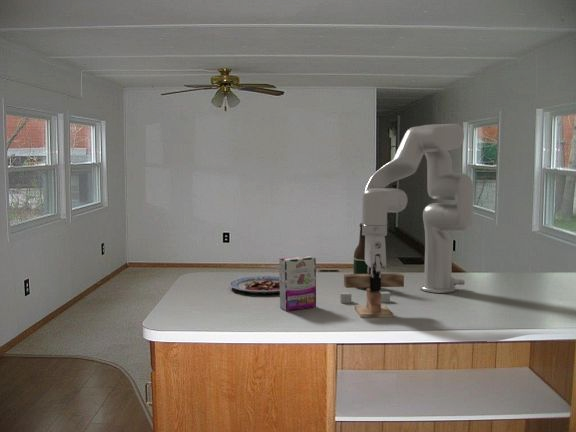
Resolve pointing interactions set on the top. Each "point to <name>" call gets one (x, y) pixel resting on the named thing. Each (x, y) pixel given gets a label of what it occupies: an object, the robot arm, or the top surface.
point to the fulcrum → (373, 306)
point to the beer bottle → (360, 257)
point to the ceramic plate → (257, 284)
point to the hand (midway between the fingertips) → (373, 288)
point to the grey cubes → (346, 297)
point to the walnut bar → (364, 280)
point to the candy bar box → (297, 282)
